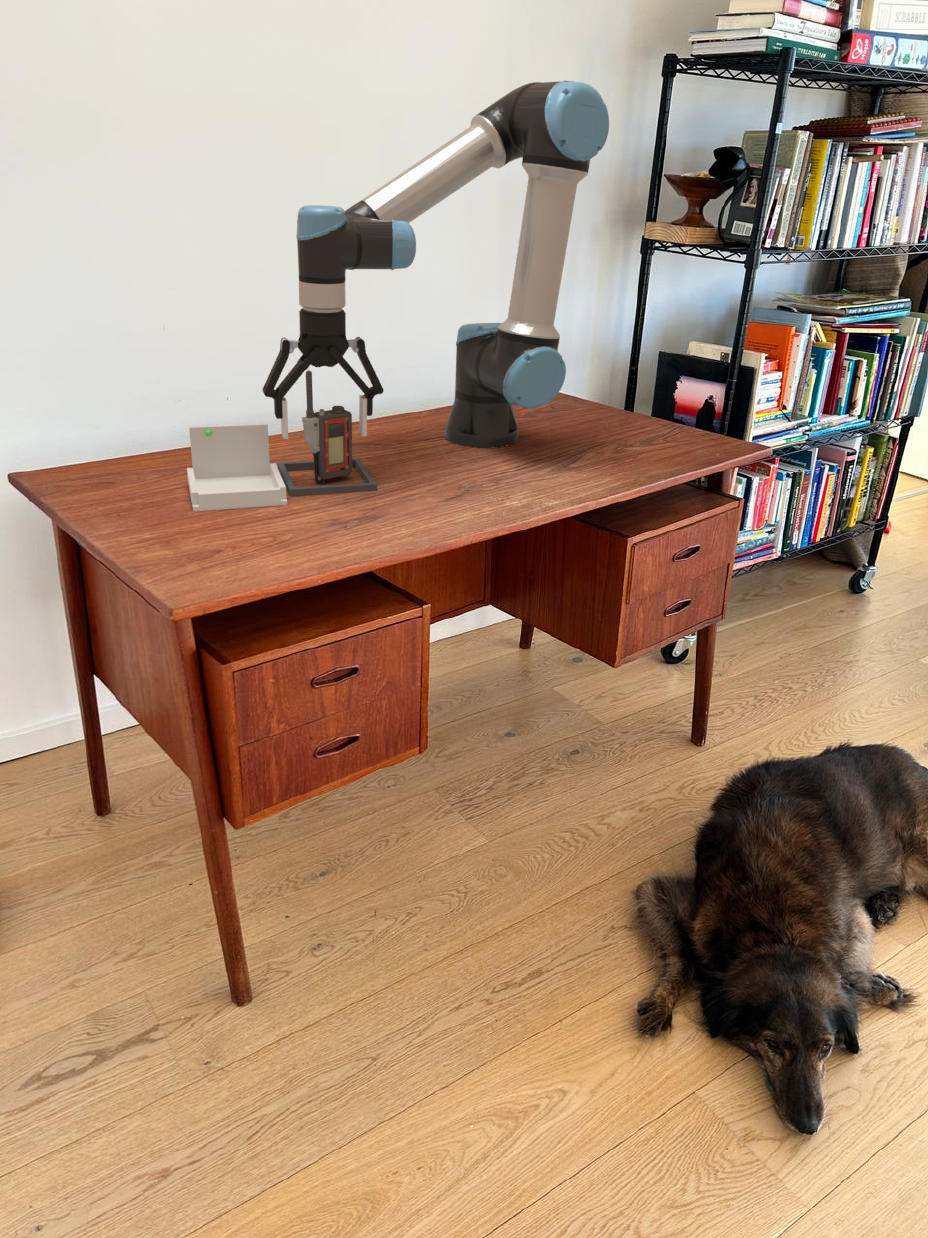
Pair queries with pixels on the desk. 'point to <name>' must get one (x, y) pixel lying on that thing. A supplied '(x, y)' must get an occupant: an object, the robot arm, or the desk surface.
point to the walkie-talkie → (328, 438)
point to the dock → (233, 468)
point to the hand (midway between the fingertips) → (324, 435)
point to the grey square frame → (328, 489)
